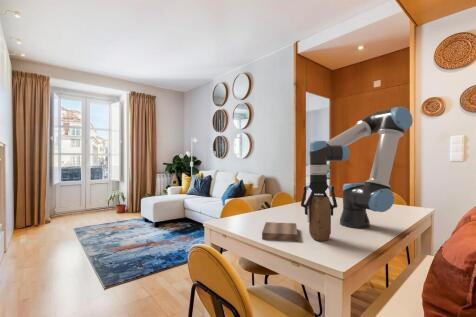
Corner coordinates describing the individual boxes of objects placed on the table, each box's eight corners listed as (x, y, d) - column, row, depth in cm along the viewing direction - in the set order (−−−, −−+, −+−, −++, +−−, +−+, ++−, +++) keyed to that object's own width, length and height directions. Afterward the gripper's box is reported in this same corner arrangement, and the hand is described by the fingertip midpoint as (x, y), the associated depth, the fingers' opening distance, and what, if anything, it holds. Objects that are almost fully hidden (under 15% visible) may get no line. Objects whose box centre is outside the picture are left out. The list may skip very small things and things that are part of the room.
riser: (296, 229, 130) (296, 223, 130) (297, 241, 112) (297, 234, 112) (265, 227, 134) (265, 222, 134) (262, 239, 115) (262, 232, 115)
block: (332, 241, 111) (332, 196, 111) (316, 242, 110) (316, 197, 110) (320, 234, 122) (320, 193, 121) (306, 234, 120) (305, 193, 120)
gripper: (294, 174, 114) (295, 223, 114) (344, 174, 110) (345, 225, 110) (294, 173, 121) (295, 219, 121) (341, 173, 117) (341, 221, 117)
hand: (318, 222), depth 116 cm, fingers closed on block, 9 cm apart
